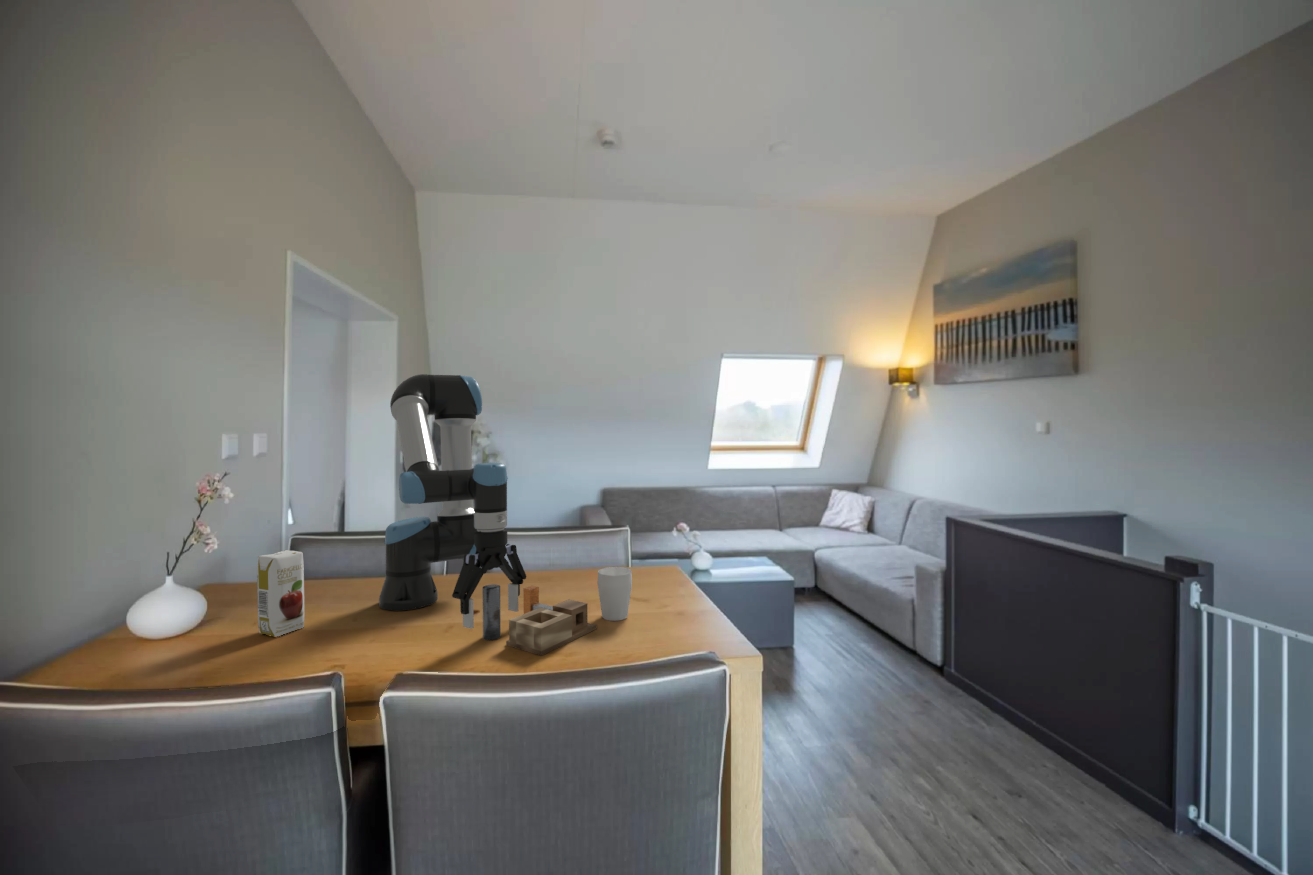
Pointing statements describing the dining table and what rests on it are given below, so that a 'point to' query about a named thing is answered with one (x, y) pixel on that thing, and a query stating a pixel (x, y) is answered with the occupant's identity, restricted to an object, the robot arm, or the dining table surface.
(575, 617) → the dock
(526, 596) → the pin
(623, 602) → the cup
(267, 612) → the juice carton
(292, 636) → the dining table surface
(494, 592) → the dark grey cylinder
